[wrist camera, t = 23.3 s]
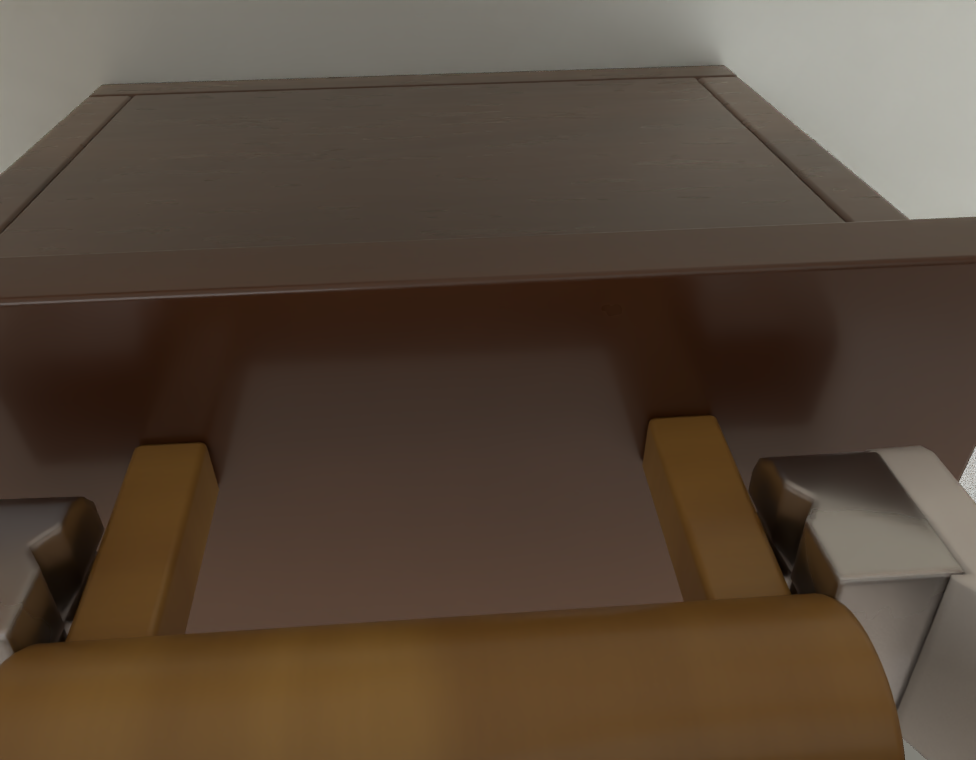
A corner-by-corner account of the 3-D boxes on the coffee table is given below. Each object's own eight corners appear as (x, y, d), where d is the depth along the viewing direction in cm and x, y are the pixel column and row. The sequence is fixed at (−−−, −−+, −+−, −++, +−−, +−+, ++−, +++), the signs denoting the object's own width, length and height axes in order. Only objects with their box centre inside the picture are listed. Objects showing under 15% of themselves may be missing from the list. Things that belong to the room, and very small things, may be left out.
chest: (99, 83, 16) (-120, 277, 9) (725, 63, 16) (931, 233, 10) (231, 600, 23) (162, 906, 17) (656, 573, 24) (748, 859, 17)
